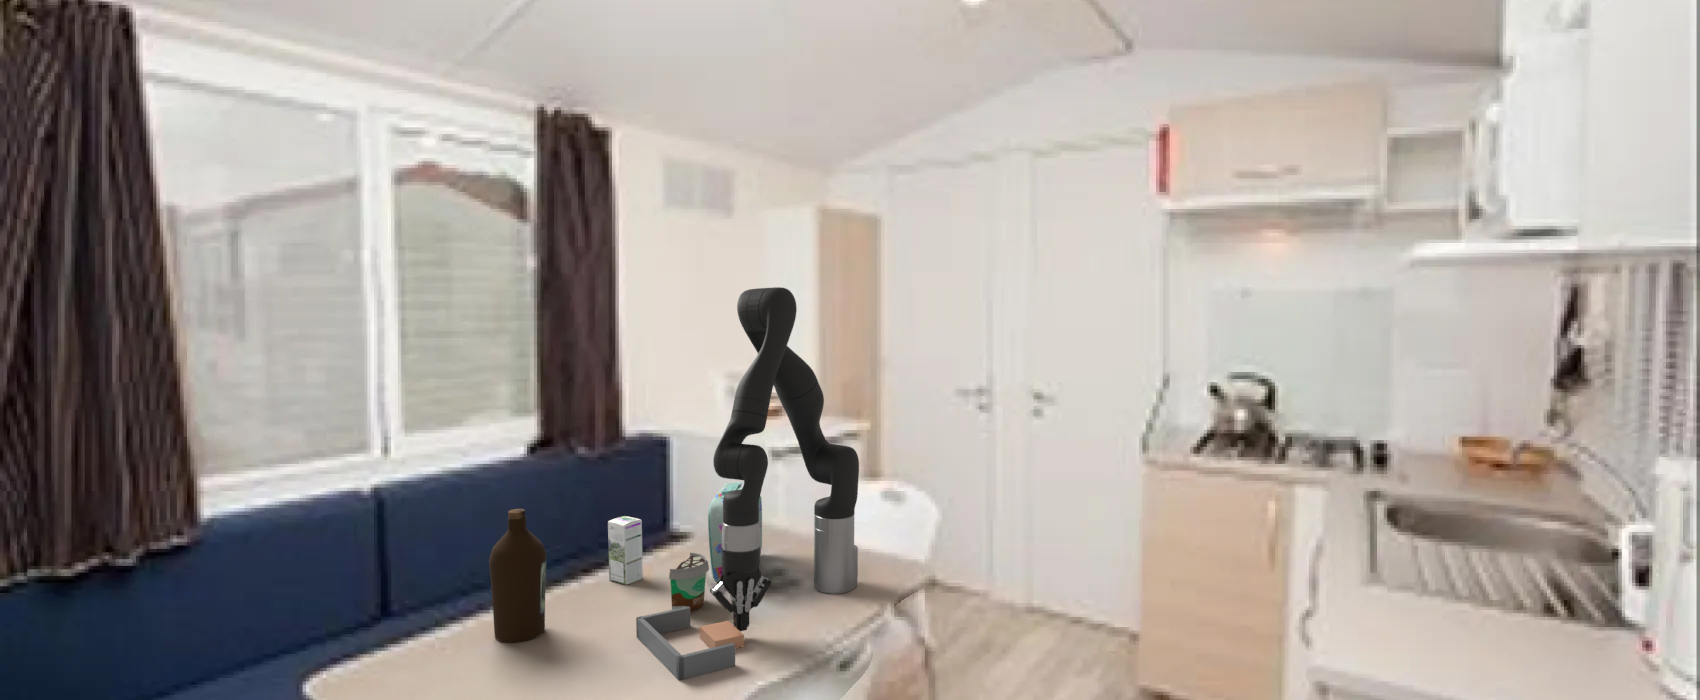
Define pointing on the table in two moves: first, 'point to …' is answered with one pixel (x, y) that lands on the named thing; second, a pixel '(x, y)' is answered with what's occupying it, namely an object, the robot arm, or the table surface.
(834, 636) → the table surface
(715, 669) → the box
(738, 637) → the tile
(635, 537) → the syrup box
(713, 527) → the lunch box
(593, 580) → the table surface
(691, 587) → the food container
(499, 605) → the olive oil
